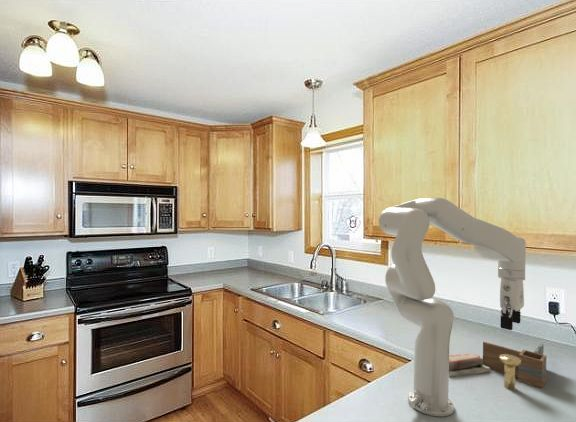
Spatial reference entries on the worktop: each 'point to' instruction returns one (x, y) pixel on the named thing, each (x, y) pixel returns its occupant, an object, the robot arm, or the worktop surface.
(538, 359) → the hinge
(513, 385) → the hinge pin
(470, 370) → the packaged product
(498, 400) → the worktop surface
